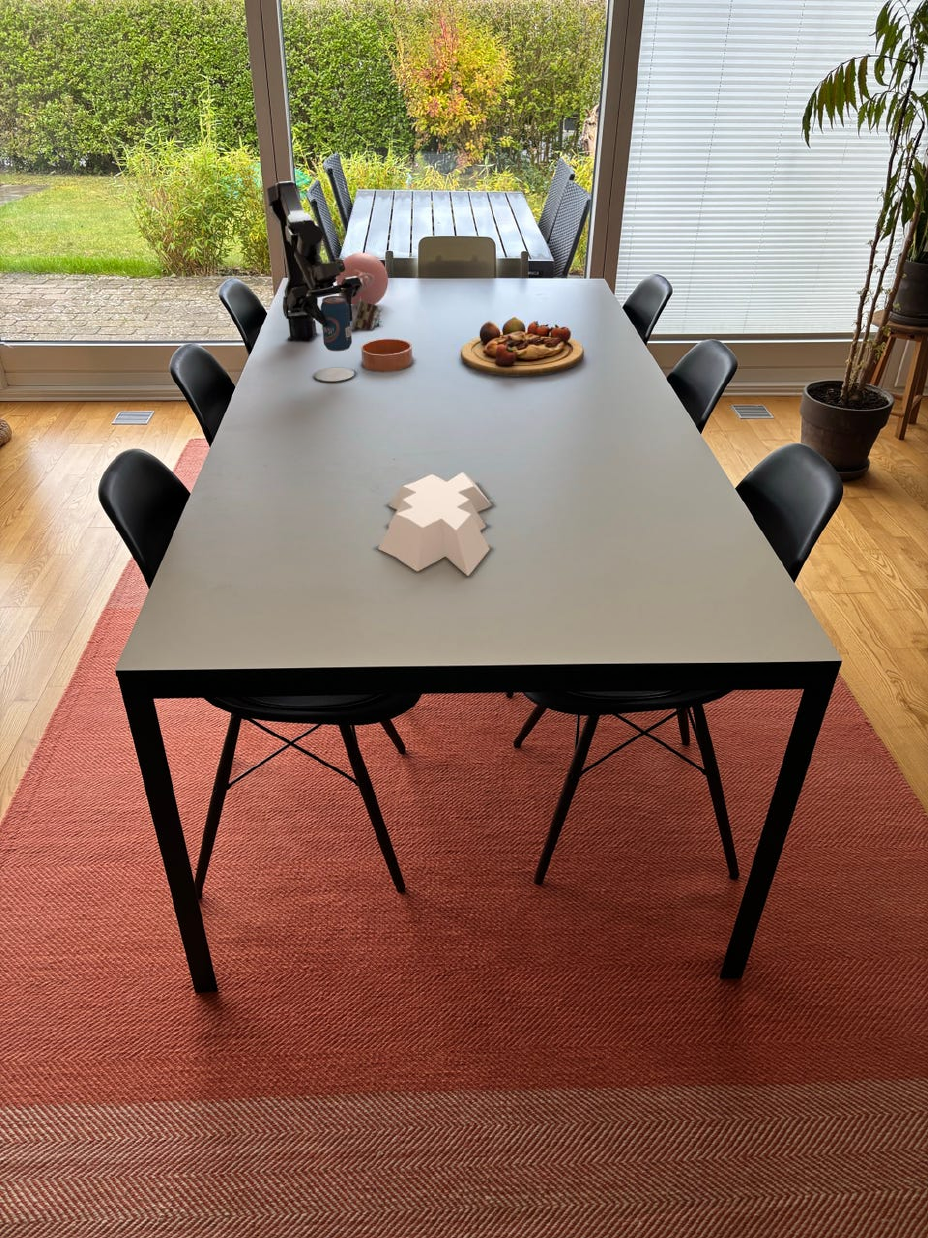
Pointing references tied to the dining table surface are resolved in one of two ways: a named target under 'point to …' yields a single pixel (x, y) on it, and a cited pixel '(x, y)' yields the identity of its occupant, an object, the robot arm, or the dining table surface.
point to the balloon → (366, 277)
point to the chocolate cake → (366, 316)
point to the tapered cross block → (438, 523)
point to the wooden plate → (522, 349)
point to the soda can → (336, 323)
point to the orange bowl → (386, 354)
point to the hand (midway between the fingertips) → (338, 322)
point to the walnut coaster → (334, 375)
